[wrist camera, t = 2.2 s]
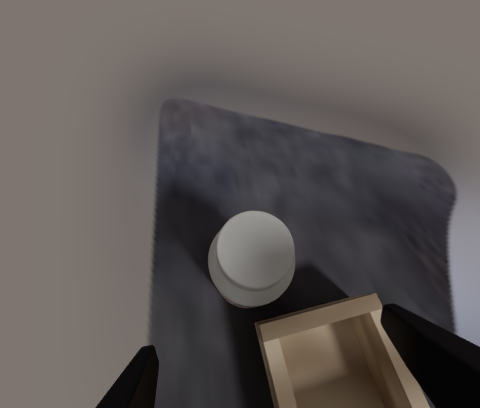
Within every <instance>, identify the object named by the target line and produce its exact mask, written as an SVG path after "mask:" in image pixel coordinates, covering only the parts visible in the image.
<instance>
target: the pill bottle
mask: <svg viewBox="0 0 480 408" xmlns="http://www.w3.org/2000/svg"><path fill="white" fill-rule="evenodd" d="M208 267H209V272H210V276H211V279H212V281H213V283H214V285H215V286H216V288H217V289H218V291H219V292H220V294H221V295H222V296H223V298H224V299H225V300H226V301H227V302H229V303H230V304H232V305H234V306H237V307H240V308H254V307H258V306H262V305H265V304H268V303H271V302H272V301H274V300H276V299H277V298H279V297H280V296H281V295H282V294H283V293H284V292H285V290H286V289H287V288H288V286H289V284H290V283H291V280H292V278H293V275H294V271H295V248H294V242H293V239H292V236H291V234H290V232H289V230H288V228H287V227H286V226H285V225H284V224H283V223H282V222H281V221H280V220H279V219H278V218H276V217H275V216H273V215H271V214H268V213H265V212H261V211H246V212H243V213H240V214H237V215H235V216H234V217H232V218H231V219H229V220H228V221H227V222H226V223H225V225H224V226H223V227H222V229H221V230H220V231H219V232H218V234H217V235H216V236H215V238H214V240H213V242H212V244H211V246H210V250H209V255H208Z"/></svg>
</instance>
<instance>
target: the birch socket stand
mask: <svg viewBox="0 0 480 408" xmlns="http://www.w3.org/2000/svg"><path fill="white" fill-rule="evenodd" d="M381 312H382V305H381V303H380V300H379V298H378V296H377V294H376V293H373V294H367V295H360V296H353V297H348V298H344V299H341V300H337V301H333V302H329V303H326V304H322V305H318V306H315V307H311V308H307V309H304V310H300V311H296V312H293V313H289V314H285V315H282V316H278V317H274V318H271V319H267V320H263V321H260V322H256V323H255V328H256V332H257V336H258V340H259V345H260V349H261V353H262V357H263V362H264V366H265V370H266V374H267V379H268V383H269V387H270V392H271V396H272V400H273V404H274V408H430V407H429V405H428V403H427V401H426V398H425V396H424V394H423V392H422V390H421V388H420V386H419V384H418V382H417V381H416V379H415V378H414V377H413V375H412V374H411V372H410V371H409V370H408V368H407V367H406V365H405V363H404V362H403V360H402V359H401V357H400V355H399V354H398V352H397V350H396V349H395V347H394V346H393V344H392V342H391V341H390V339H389V337H388V336H387V334H386V332H385V331H384V329H383V327H382V325H381V322H380V319H381Z"/></svg>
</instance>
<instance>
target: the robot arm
mask: <svg viewBox="0 0 480 408" xmlns="http://www.w3.org/2000/svg"><path fill="white" fill-rule="evenodd" d="M380 322H381V325H382V327H383V329H384V331H385V332H386V334H387V336H388V337H389V339H390V341H391V342H392V344H393V346H394V347H395V349H396V350H397V352H398V354H399V355H400V357H401V359H402V360H403V362H404V363H405V365H406V367H407V368H408V370H409V371H410V372H411V374H412V375H413V377H414V378H415V379H416V381H417V382H418V384H419V385H420V386H421V388H422V389H423V391H424V392H425V393H426V395H427V396H428V397H429V399H430V400H431V402H432V403H433V404H434V406H435V407H436V408H480V347H479V346H477V345H475V344H473V343H471V342H469V341H467V340H465V339H463V338H461V337H459V336H457V335H455V334H453V333H451V332H449V331H447V330H445V329H443V328H442V327H440V326H438V325H436V324H434V323H432V322H430V321H428V320H426V319H424V318H422V317H420V316H418V315H416V314H414V313H412V312H410V311H408V310H406V309H404V308H402V307H400V306H398V305H396V304H386V305H384V306H383V307H382V312H381V319H380ZM158 370H159V361H158V357H157V353H156V350H155V347H154V346H153V345H149V346H144V347H142V348H141V349H140V350H139V351H138V353H137V354H136V355H135V356H134V358H133V359H132V361H131V362H130V363H129V365H128V366H127V367H126V368H125V370H124V371H123V372H122V374H121V375H120V376H119V378H118V379H117V380H116V381H115V383H114V384H113V386H112V387H111V388H110V389H109V391H108V392H107V393H106V395H105V396H104V397H103V399H102V400H101V401H100V403H99V404H98V405H97V407H96V408H154V405H155V396H156V387H157V378H158Z"/></svg>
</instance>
